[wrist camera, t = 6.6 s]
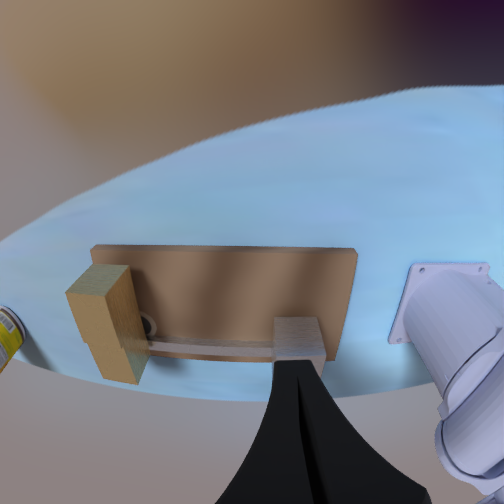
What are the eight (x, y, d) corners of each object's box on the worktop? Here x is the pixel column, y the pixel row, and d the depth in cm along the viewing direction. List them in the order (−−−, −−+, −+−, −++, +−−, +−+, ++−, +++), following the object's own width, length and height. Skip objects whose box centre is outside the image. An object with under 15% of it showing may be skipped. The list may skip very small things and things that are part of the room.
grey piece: (321, 309, 20) (334, 354, 16) (314, 349, 22) (323, 393, 18) (113, 302, 21) (87, 340, 16) (124, 340, 22) (105, 378, 18)
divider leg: (133, 259, 18) (104, 296, 14) (153, 346, 22) (136, 388, 18) (97, 258, 19) (65, 292, 14) (121, 342, 22) (102, 381, 18)
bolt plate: (353, 248, 19) (358, 255, 18) (332, 352, 23) (334, 361, 22) (96, 244, 20) (89, 250, 19) (123, 343, 24) (119, 351, 23)
